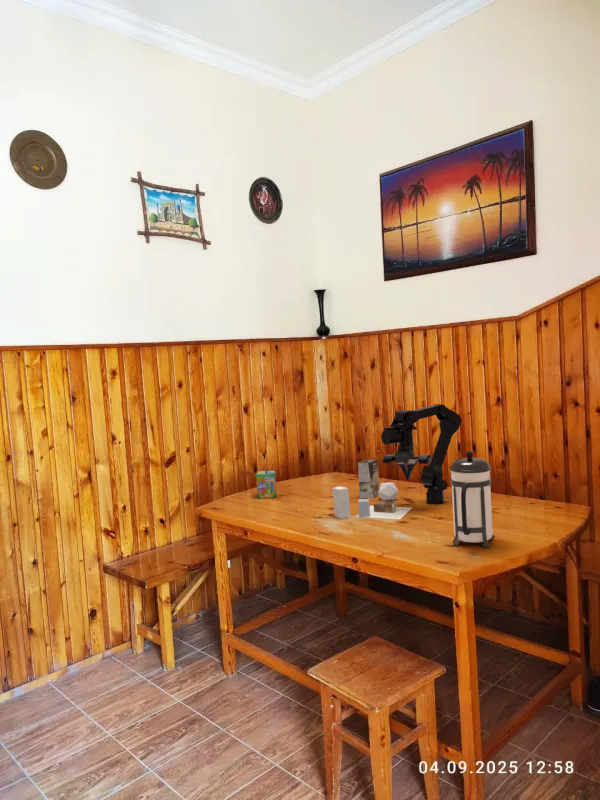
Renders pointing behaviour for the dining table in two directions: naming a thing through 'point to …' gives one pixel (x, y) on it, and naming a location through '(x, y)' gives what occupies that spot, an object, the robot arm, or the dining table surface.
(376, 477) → the coffee box
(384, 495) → the die
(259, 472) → the chalk box
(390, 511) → the walnut block
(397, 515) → the mat
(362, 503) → the blue-grey block
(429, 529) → the dining table surface
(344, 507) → the skincare box
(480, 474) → the coffee press
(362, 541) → the dining table surface
